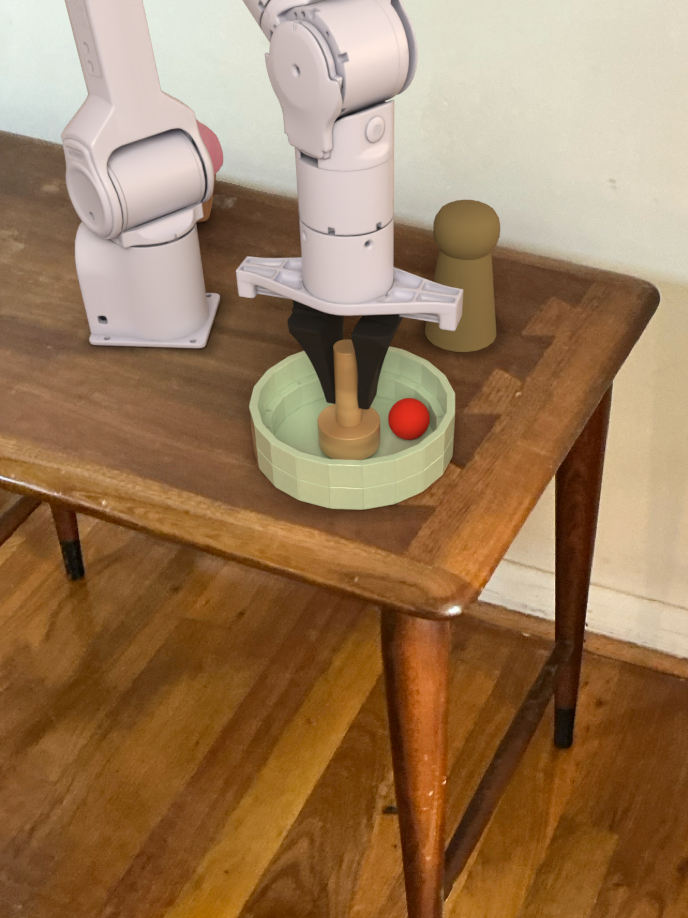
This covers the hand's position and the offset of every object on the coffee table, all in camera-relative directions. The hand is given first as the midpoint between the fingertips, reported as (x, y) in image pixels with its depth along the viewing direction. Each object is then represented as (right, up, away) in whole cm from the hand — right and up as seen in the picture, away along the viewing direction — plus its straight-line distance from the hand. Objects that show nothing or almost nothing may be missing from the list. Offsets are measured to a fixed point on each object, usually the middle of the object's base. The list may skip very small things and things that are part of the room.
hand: (351, 398), depth 71 cm
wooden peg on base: (0, -3, +2) cm, 3 cm away
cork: (+8, +7, +15) cm, 18 cm away
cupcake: (-18, +21, +28) cm, 39 cm away
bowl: (0, -3, +3) cm, 5 cm away
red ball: (+4, -1, +2) cm, 5 cm away
